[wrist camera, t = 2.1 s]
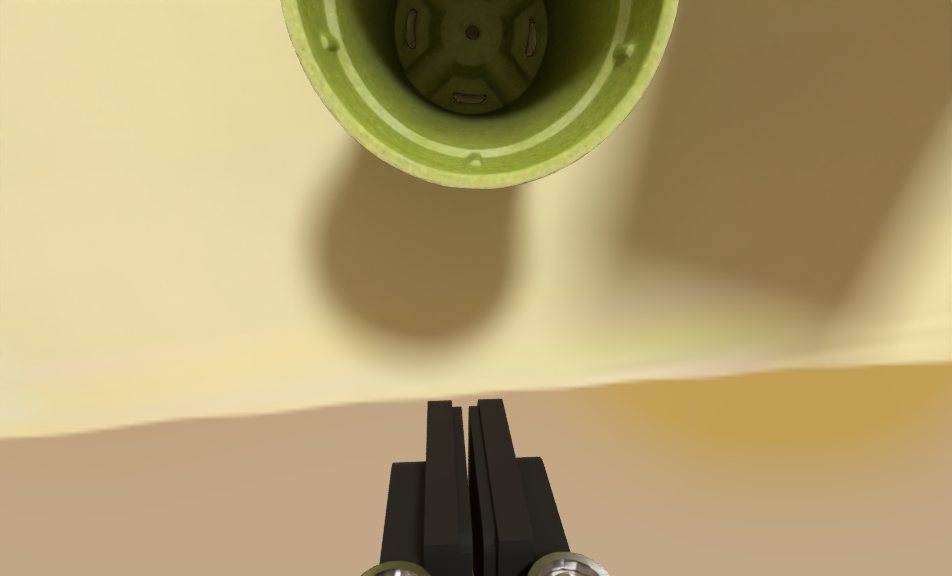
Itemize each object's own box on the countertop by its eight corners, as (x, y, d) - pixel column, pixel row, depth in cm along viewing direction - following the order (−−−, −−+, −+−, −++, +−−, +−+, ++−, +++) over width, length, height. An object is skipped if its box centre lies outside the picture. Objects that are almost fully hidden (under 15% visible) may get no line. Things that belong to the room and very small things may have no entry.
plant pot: (354, 155, 21) (293, 185, 13) (340, -118, 18) (249, -304, 10) (575, 160, 22) (651, 193, 14) (600, -104, 19) (718, -270, 10)
